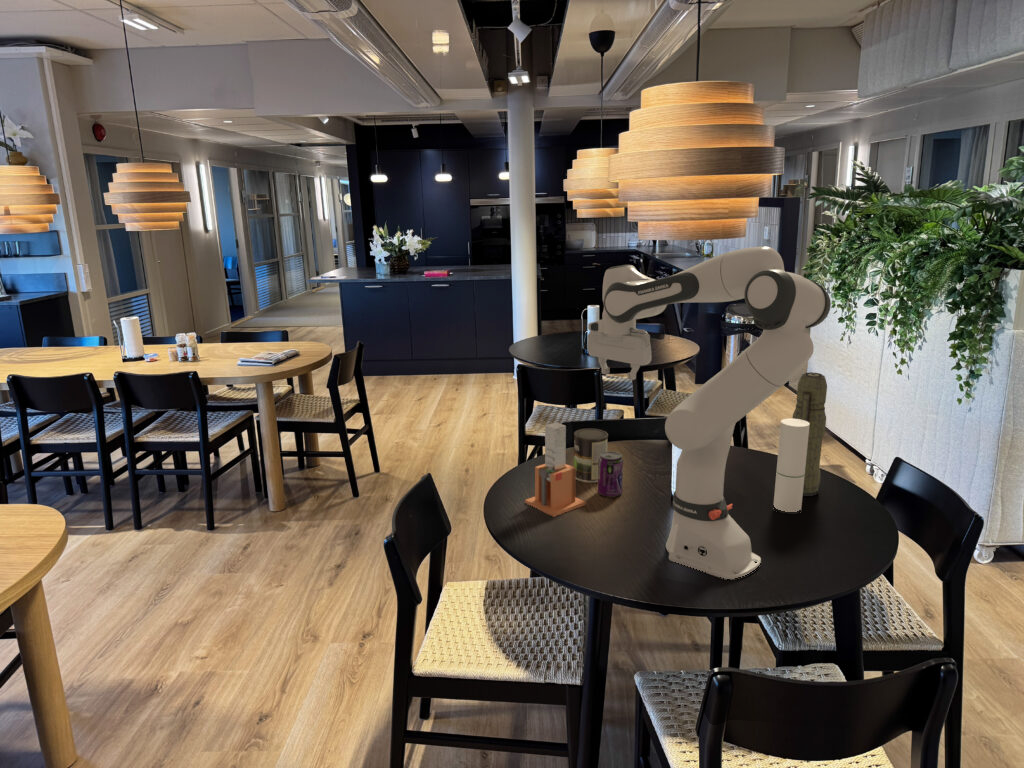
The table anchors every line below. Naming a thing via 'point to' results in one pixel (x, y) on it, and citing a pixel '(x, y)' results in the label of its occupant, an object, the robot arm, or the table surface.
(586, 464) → the coffee can
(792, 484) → the cylindrical container
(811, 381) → the thermos
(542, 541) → the table surface
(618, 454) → the beverage can
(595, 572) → the table surface
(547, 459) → the column
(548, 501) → the stand base
